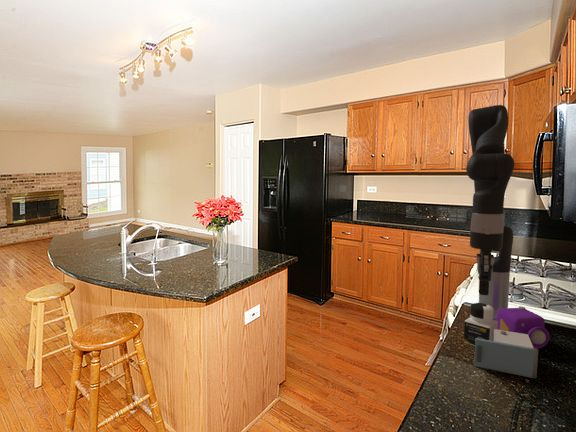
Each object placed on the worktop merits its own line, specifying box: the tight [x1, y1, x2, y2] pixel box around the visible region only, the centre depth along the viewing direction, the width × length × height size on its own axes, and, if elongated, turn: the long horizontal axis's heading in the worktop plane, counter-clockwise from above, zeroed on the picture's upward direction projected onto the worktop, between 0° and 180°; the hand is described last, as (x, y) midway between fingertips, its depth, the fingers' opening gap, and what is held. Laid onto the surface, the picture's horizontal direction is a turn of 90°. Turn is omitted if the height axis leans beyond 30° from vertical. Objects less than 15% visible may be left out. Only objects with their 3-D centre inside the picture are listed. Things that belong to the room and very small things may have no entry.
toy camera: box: [496, 305, 550, 350], centre depth 103 cm, size 11×14×10 cm
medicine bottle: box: [463, 302, 498, 347], centre depth 104 cm, size 7×7×12 cm
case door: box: [473, 338, 539, 379], centre depth 87 cm, size 2×14×7 cm, turn 63°
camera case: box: [493, 329, 534, 348], centre depth 92 cm, size 10×9×8 cm
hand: (483, 294), depth 92 cm, fingers closed
